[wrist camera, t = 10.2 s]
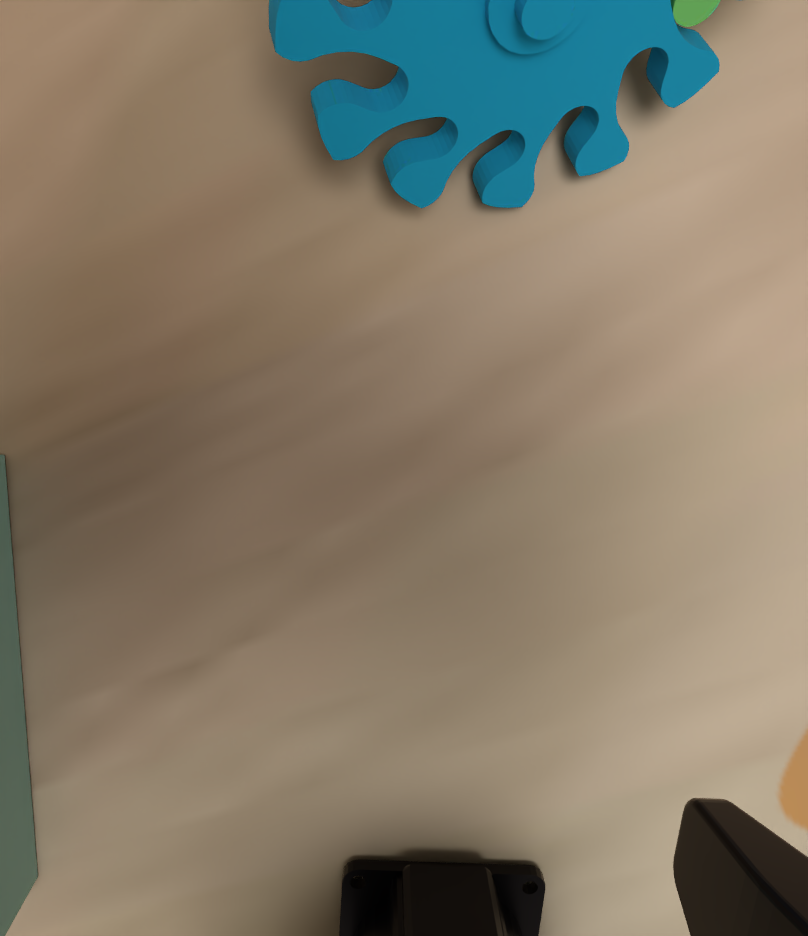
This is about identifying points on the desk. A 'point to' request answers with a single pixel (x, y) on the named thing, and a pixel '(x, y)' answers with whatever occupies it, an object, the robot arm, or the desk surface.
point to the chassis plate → (12, 743)
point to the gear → (492, 80)
